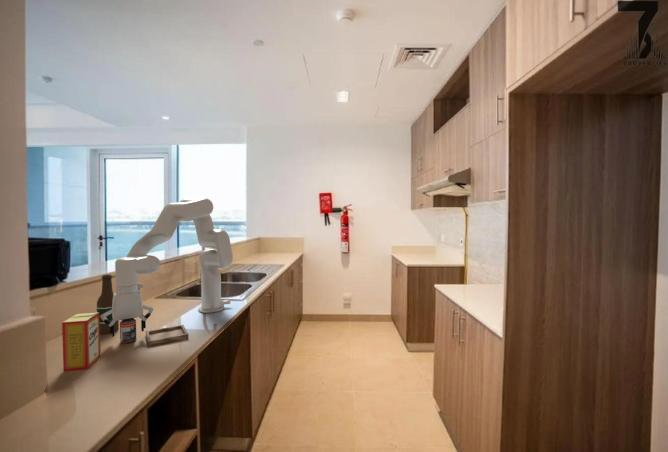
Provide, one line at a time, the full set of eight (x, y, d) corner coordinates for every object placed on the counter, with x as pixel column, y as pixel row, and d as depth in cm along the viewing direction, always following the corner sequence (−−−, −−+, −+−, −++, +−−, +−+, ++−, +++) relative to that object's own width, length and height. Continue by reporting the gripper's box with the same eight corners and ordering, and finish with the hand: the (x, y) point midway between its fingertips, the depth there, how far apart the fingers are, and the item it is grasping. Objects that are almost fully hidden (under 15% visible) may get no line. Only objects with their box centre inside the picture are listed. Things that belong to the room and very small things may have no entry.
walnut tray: (183, 329, 138) (183, 324, 138) (188, 338, 128) (188, 333, 128) (145, 335, 131) (145, 331, 131) (148, 346, 120) (148, 341, 120)
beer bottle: (123, 329, 138) (121, 274, 137) (103, 335, 131) (102, 277, 130) (112, 326, 142) (110, 272, 141) (92, 332, 134) (91, 275, 134)
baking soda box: (87, 368, 103) (86, 319, 102) (63, 371, 101) (62, 321, 100) (100, 356, 112) (99, 311, 111) (78, 358, 110) (77, 312, 110)
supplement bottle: (125, 338, 128) (124, 313, 127) (139, 338, 128) (138, 313, 128) (117, 344, 122) (116, 317, 122) (131, 343, 123) (131, 317, 122)
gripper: (152, 285, 132) (152, 325, 133) (100, 290, 123) (101, 334, 123) (153, 288, 126) (154, 331, 127) (99, 294, 117) (100, 340, 117)
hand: (128, 332), depth 125 cm, fingers open, 9 cm apart
